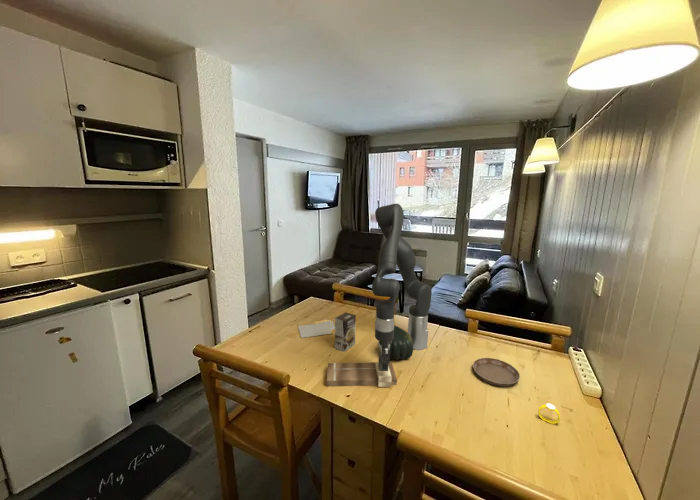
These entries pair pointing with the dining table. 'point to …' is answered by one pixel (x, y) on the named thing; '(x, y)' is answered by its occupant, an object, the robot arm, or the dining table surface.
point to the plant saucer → (496, 371)
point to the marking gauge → (383, 374)
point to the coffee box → (345, 331)
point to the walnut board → (355, 374)
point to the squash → (401, 344)
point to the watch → (552, 408)
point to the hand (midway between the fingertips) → (383, 363)
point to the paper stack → (316, 329)
